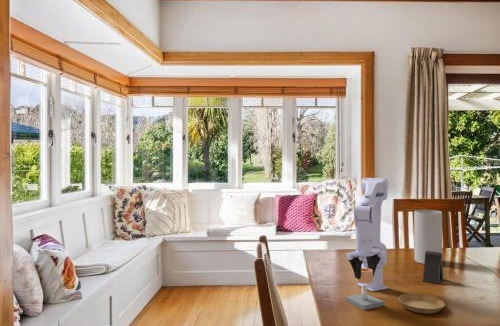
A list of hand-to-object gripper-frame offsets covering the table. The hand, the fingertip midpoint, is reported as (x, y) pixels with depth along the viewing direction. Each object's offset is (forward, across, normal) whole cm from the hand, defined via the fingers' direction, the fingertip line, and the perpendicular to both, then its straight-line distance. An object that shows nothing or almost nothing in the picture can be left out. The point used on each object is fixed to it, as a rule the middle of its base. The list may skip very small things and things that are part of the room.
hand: (364, 277), depth 144 cm
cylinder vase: (+10, +66, +30) cm, 73 cm away
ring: (+1, 0, 0) cm, 1 cm away
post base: (+9, 0, 0) cm, 9 cm away
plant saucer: (+10, +15, -12) cm, 21 cm away
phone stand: (+10, +44, +8) cm, 46 cm away
